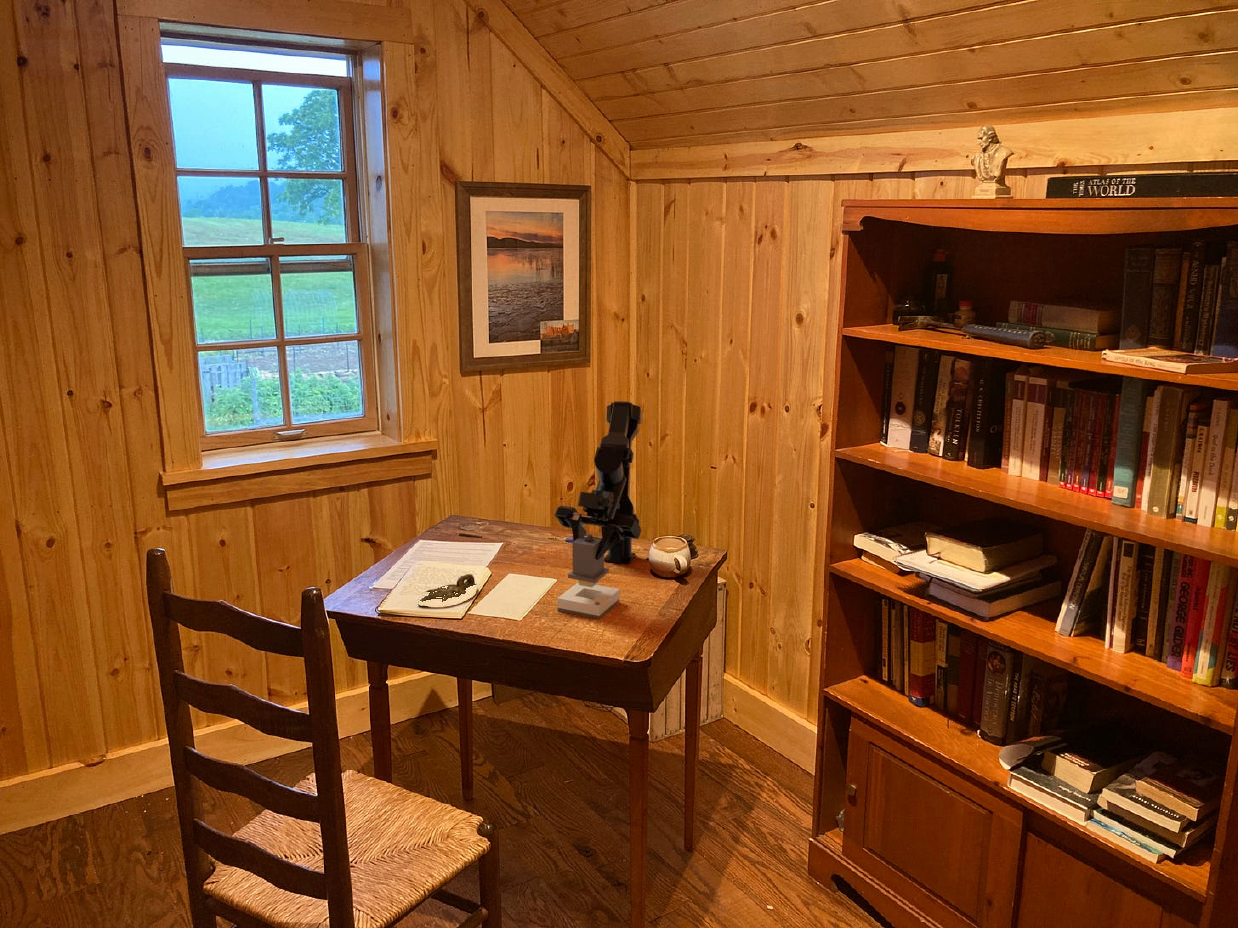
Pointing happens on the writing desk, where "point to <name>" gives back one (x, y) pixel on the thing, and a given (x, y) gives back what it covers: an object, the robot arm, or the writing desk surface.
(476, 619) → the writing desk surface
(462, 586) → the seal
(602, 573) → the grey block with knob
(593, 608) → the socket
